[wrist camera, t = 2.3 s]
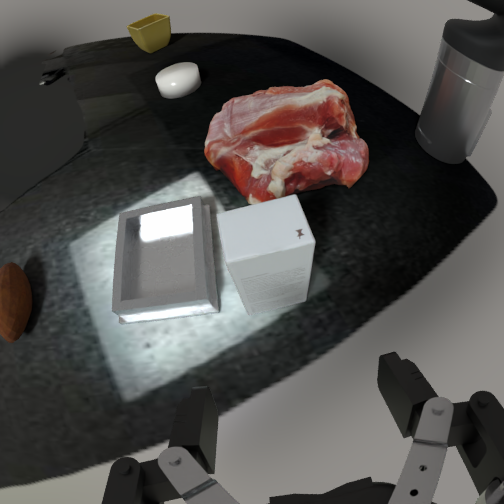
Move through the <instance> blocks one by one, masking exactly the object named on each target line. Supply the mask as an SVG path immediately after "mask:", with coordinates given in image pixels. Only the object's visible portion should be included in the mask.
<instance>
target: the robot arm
mask: <svg viewBox="0 0 504 504" xmlns="http://www.w3.org/2000/svg"><path fill="white" fill-rule="evenodd" d="M468 1H470V2H472V3H474V4H476V5H479V6H481V7H483V8H485V9H487V10H489V11H491V12H493V13H494V15H493V17H492V18H490V19H487V20H481V21H471V20H462V19H450V20H448V21H447V22H446V24H445V27H444V31H443V36H442V40H441V44H440V48H439V52H438V57H437V60H436V64H435V68H434V72H433V75H432V79H431V82H430V86H429V89H428V93H427V96H426V99H425V102H424V106H423V109H422V112H421V115H420V118H419V121H418V124H417V127H416V130H415V136H416V139H417V141H418V143H419V144H420V146H421V147H422V148H423V149H424V150H425V151H426V152H427V153H428V154H430V155H431V156H433V157H434V158H436V159H438V160H440V161H442V162H445V163H449V164H459V163H462V162H463V161H464V160H465V158H466V157H467V156H471V154H472V152H473V150H474V148H475V146H476V144H477V142H478V140H479V138H480V136H481V134H482V132H483V130H484V128H485V126H486V124H487V122H488V120H489V118H490V116H491V109H490V107H491V105H492V103H493V100H494V98H495V96H496V93H497V91H498V88H499V86H500V83H501V81H502V78H503V76H504V0H468ZM377 381H378V388H379V390H380V392H381V394H382V396H383V398H384V400H385V402H386V404H387V406H388V408H389V410H390V412H391V414H392V416H393V418H394V420H395V422H396V424H397V426H398V428H399V429H400V432H401V433H402V436H403V438H406V437H409V436H412V438H413V443H412V446H411V449H410V452H409V454H408V457H407V460H406V462H405V465H404V468H403V470H402V473H401V475H400V478H399V480H398V482H397V485H394V484H391V483H385V482H372V479H371V477H368V478H364V479H360V480H357V481H354V482H349V483H346V484H344V485H342V486H340V487H337V488H335V489H333V490H331V491H329V492H326V493H324V494H290V495H283V496H275V497H270V503H268V504H436V503H434V502H432V498H433V496H434V493H435V490H436V487H437V484H438V481H439V477H440V474H441V470H442V467H443V463H444V459H445V456H446V452H447V447H452V446H456V447H457V449H458V452H459V454H460V456H461V458H462V459H463V462H464V464H465V466H466V468H467V470H468V472H469V474H470V476H471V478H472V480H473V482H474V485H475V487H476V489H477V491H478V493H479V498H478V499H477V501H476V503H475V504H504V408H503V407H502V406H501V404H500V403H499V402H498V400H497V399H496V398H495V396H494V395H493V394H492V393H490V392H487V391H478V392H476V393H474V394H473V395H472V396H471V398H470V400H469V401H467V402H460V403H451V402H450V400H448V399H446V398H443V397H438V395H437V394H436V393H435V391H434V390H433V388H432V387H431V385H430V384H429V383H428V382H427V380H426V378H425V377H424V376H423V374H422V373H421V372H420V370H419V369H418V367H417V366H416V365H415V364H414V363H413V362H411V361H410V360H408V359H404V360H401V359H400V357H399V356H398V354H397V353H396V352H391V353H388V354H384V355H381V356H380V357H379V366H378V378H377ZM175 415H176V416H175V419H174V423H173V428H172V432H171V437H170V441H169V446H168V449H166V450H164V451H163V452H162V453H161V454H160V455H159V457H158V458H157V459H154V460H151V461H146V462H141V463H139V462H138V461H137V460H135V459H134V458H131V457H124V458H120V459H118V460H117V461H115V462H114V463H113V465H112V467H111V470H110V473H109V477H108V481H107V485H106V489H105V493H104V497H103V501H102V504H164V502H165V501H169V500H173V499H178V498H183V499H184V501H185V502H186V503H187V504H239V503H238V502H237V501H236V500H235V499H234V498H233V497H232V496H231V495H230V494H229V493H228V492H227V491H226V490H225V489H224V488H223V487H222V486H221V485H220V484H219V483H218V482H217V481H216V480H213V479H212V478H211V477H210V476H209V475H208V474H214V472H215V458H216V444H217V431H218V411H217V407H216V404H215V402H214V399H213V396H212V393H211V390H210V388H209V386H205V387H194V388H192V391H191V396H190V398H187V399H183V400H182V401H181V402H180V404H179V405H178V406H177V410H176V414H175Z"/></svg>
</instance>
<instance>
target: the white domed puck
mask: <svg viewBox="0 0 504 504" xmlns="http://www.w3.org/2000/svg"><path fill="white" fill-rule="evenodd" d="M156 82H157V85H158V88H159V91H160V93H161V95H162V96H163V97H165V98H179V97H183V96H186V95H188V94H190V93H192V92H194V91H195V90H197V89H198V88H199V87H200V85H201V79H200V75H199V71H198V67H197V65H196V64H194V63H190V62H185V63H178V64H175V65H172V66H169V67H167V68H165V69H163V70H162V71H161V72H159V73H158V74H157V76H156Z"/></svg>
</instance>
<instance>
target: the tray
mask: <svg viewBox="0 0 504 504" xmlns="http://www.w3.org/2000/svg"><path fill="white" fill-rule="evenodd" d="M112 312H114V313H115V314H117V315H119V323H120V324H131V323H141V322H150V321H159V320H167V319H176V318H184V317H191V316H199V315H206V314H214V313H219V304H218V294H217V284H216V273H215V262H214V250H213V238H212V225H211V212H210V205H204V204H203V201H202V199H201V196H198V197H193V198H188V199H183V200H178V201H173V202H168V203H164V204H159V205H154V206H150V207H145V208H141V209H136V210H132V211H128V212H123V213H120V215H119V223H118V232H117V242H116V252H115V264H114V279H113V298H112Z"/></svg>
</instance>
